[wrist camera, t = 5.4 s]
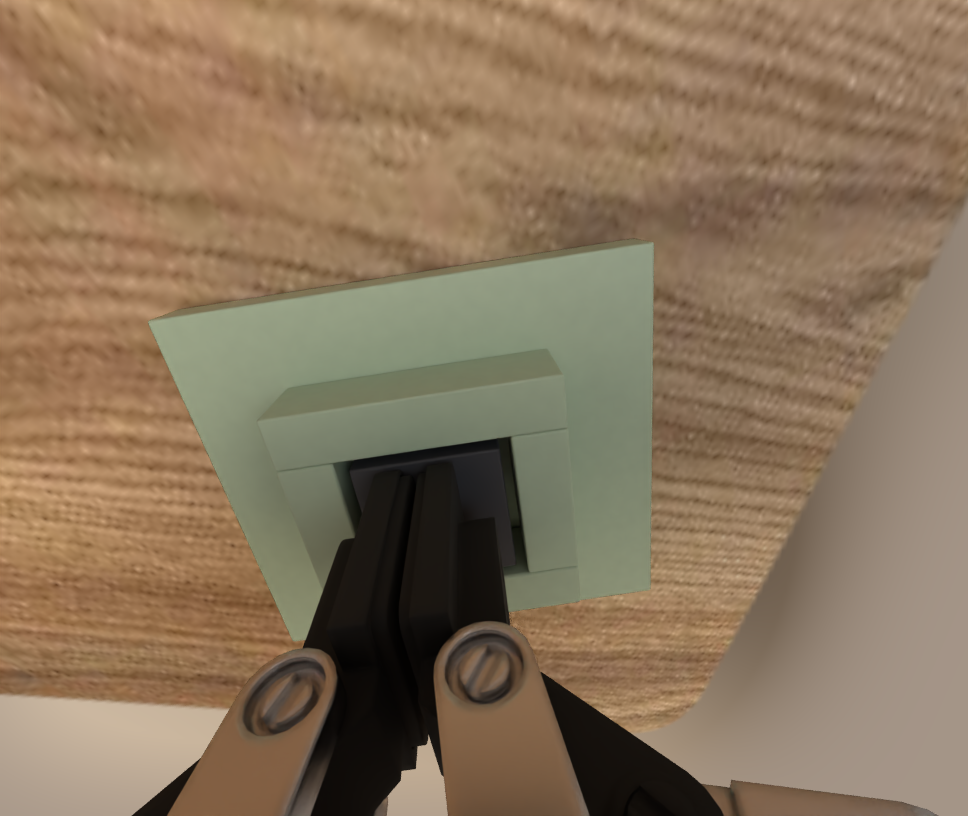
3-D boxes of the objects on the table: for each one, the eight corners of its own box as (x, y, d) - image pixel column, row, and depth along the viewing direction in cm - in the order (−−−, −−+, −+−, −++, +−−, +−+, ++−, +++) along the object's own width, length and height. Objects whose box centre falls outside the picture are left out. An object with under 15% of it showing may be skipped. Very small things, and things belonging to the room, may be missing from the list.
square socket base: (634, 237, 11) (695, 248, 8) (637, 562, 15) (677, 643, 12) (177, 309, 11) (81, 344, 8) (305, 610, 15) (269, 701, 12)
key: (494, 417, 11) (499, 448, 9) (510, 524, 12) (516, 565, 11) (362, 437, 11) (347, 471, 9) (392, 541, 12) (383, 585, 11)
